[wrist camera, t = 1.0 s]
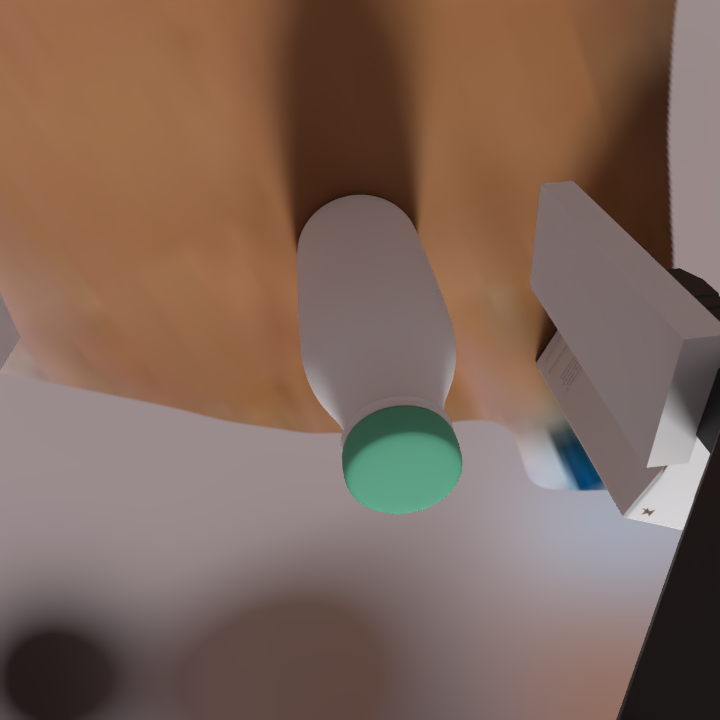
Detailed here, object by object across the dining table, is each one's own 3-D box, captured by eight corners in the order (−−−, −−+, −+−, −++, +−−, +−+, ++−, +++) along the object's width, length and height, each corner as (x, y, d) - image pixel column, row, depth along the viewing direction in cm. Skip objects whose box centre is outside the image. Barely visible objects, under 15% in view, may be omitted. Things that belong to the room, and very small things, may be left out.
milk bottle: (271, 238, 39) (259, 468, 23) (373, 164, 37) (440, 359, 21) (343, 322, 43) (377, 569, 27) (440, 259, 41) (539, 486, 25)
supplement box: (629, 393, 49) (740, 550, 37) (531, 363, 47) (617, 522, 35) (704, 297, 45) (860, 440, 33) (601, 258, 42) (728, 398, 30)
